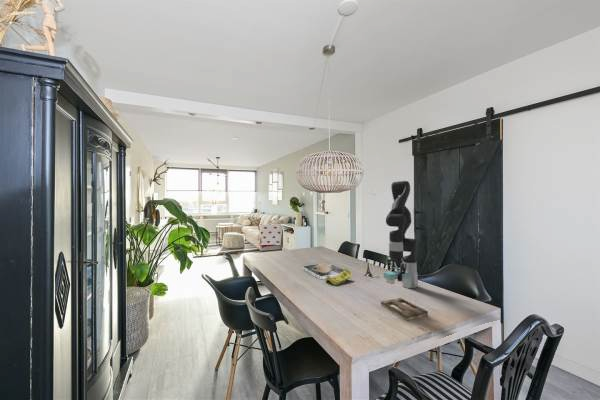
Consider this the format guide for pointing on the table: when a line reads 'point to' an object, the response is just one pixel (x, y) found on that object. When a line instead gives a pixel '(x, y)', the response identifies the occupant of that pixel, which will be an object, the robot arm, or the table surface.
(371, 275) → the eiffel tower figurine
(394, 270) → the robot arm
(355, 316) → the table surface
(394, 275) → the panel
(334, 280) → the plastic component
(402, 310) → the slot board
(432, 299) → the table surface
